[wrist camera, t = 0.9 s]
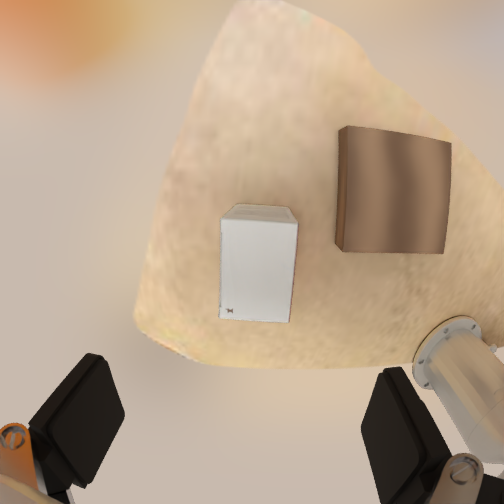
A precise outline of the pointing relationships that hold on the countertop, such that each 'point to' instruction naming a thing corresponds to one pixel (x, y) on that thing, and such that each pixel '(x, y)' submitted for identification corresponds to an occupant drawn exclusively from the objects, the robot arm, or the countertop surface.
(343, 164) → the walnut block
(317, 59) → the countertop surface
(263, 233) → the small box
